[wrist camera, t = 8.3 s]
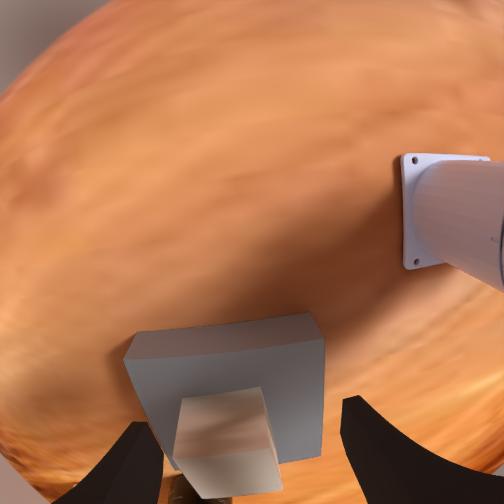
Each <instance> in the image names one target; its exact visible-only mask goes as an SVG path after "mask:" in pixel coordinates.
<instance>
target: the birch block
mask: <svg viewBox="0 0 504 504" xmlns="http://www.w3.org/2000/svg"><path fill="white" fill-rule="evenodd" d="M172 459H173V460H174V462H175V463H176V464H177V466H178V467H179V469H180V470H181V471H182V473H183V474H184V476H185V477H186V478H187V480H188V481H189V482H190V484H191V485H192V486H193V488H194V489H195V490H196V491H197V493H198V494H199V495H200V496H201V498H202V499H209V498H224V497H236V496H245V495H253V494H260V493H267V492H273V491H279V490H283V487H282V481H281V475H280V470H279V464H278V458H277V452H276V447H275V441H274V435H273V431H272V427H271V424H270V420H269V416H268V413H267V409H266V405H265V401H264V397H263V394H262V390H261V386H259V387H254V388H249V389H243V390H237V391H231V392H225V393H219V394H212V395H205V396H197V397H189V398H182V403H181V409H180V414H179V420H178V426H177V432H176V438H175V444H174V450H173V456H172Z"/></svg>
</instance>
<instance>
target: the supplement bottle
mask: <svg viewBox="0 0 504 504" xmlns="http://www.w3.org/2000/svg"><path fill="white" fill-rule="evenodd" d="M168 504H232V497H224V498H209V499H202V498H201V496H200V495H199V494H198V493H197V491H196V490H195V489H194V488H193V486H192V485H191V484H190V482H189V481H188V480H187V478H186V477H185V476H184V475H181V476H178V477H176V478H175V479H174V480H173V481H172V482H171V485H170V491H169V497H168Z"/></svg>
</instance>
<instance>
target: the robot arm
mask: <svg viewBox="0 0 504 504" xmlns="http://www.w3.org/2000/svg"><path fill="white" fill-rule="evenodd" d="M412 158H414V159H415V163H414V164H413V163H412ZM400 162H401V175H402V191H403V227H404V238H403V266H404V267H405V268H406V269H408V270H412V269H417V268H422V267H427V266H432V265H437V264H442V263H448V264H450V265H452V266H454V267H456V268H458V269H460V270H462V271H463V272H465V273H467V274H469V275H471V276H473V277H475V278H477V279H479V280H481V281H483V282H484V283H486V284H488V285H490V286H492V287H494V288H496V289H497V290H499V291H501V292H503V293H504V162H500V161H490V159H489V158H488V157H484V156H471V155H454V154H428V153H405V154H403V155H402V156H401V159H400ZM415 259H417V261H416V263H415V264H414V260H415ZM340 435H341V438H342V442H343V445H344V448H345V452H346V455H347V457H348V460H349V462H350V464H351V466H352V469H353V471H354V473H355V475H356V477H357V480H358V482H359V484H360V486H361V489H362V491H363V493H364V495H365V497H366V500H367V503H368V504H504V477H503V476H496V475H491V474H486V473H482V472H479V471H475V470H472V469H469V468H466V467H463V466H461V465H458V464H455V463H453V462H450V461H448V460H446V459H444V458H442V457H440V456H438V455H436V454H434V453H432V452H430V451H429V450H427V449H425V448H424V447H422V446H420V445H419V444H417V443H416V442H414V441H413V440H411V439H410V438H409V437H407V436H406V435H404V434H403V433H402V432H400V431H399V430H398V429H397V428H395V427H394V426H393V425H392V424H390V423H389V422H388V421H387V420H386V419H384V418H383V417H382V416H381V415H380V414H379V413H378V412H377V411H375V410H374V409H373V408H372V407H371V406H370V405H369V404H368V403H367V402H366V401H365V400H364V399H363V398H362V397H361V396H359V395H357V396H353V397H350V398H346V399H343V404H342V417H341V428H340ZM163 460H164V453H163V451H162V449H161V447H160V446H159V444H158V442H157V440H156V438H155V437H154V435H153V433H152V431H151V429H150V427H149V425H148V423H147V422H132V423H131V424H130V425H129V426H128V428H127V429H126V430H125V431H124V433H123V434H122V435H121V436H120V438H119V439H118V440H117V441H116V443H115V444H114V445H113V446H112V448H111V449H110V450H109V451H108V452H107V454H106V455H105V456H104V457H103V458H102V460H101V461H100V462H99V463H98V464H97V465H96V466H95V467H94V468H93V469H92V470H91V471H90V472H89V474H88V475H87V476H86V477H85V478H83V479H82V480H81V481H80V482H79V483H78V484H77V485H76V486H75V487H73V488H72V489H71V490H70V491H68V492H67V493H66V494H64V495H63V496H62V497H60V498H59V499H57V500H56V501H54V502H53V503H51V504H157V502H158V497H159V492H160V487H161V481H162V476H163Z"/></svg>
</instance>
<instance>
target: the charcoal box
mask: <svg viewBox="0 0 504 504" xmlns="http://www.w3.org/2000/svg"><path fill="white" fill-rule="evenodd" d="M123 362H124V365H125V367H126V370H127V372H128V375H129V377H130V380H131V382H132V385H133V387H134V389H135V392H136V394H137V396H138V399H139V401H140V403H141V405H142V408H143V410H144V412H145V414H146V416H147V418H148V421H149V423H150V425H151V427H152V429H153V431H154V433H155V435H156V437H157V439H158V441H159V443H160V444H161V446H162V448H163V450H164V452H165V454H166V456H167V458H168V459H169V461H170V463H171V465H172V466H173V468H174V470H180V469H179V467H178V466H177V464H176V463H175V462H174V460H173V459H172V456H173V450H174V444H175V438H176V432H177V426H178V420H179V414H180V409H181V403H182V398H189V397H197V396H205V395H212V394H219V393H225V392H231V391H237V390H243V389H249V388H254V387H259V386H261V390H262V394H263V397H264V401H265V405H266V409H267V413H268V416H269V420H270V424H271V427H272V431H273V435H274V441H275V447H276V452H277V458H278V464H280V463H287V462H293V461H298V460H304V459H309V458H314V457H319V456H321V446H322V429H323V408H324V369H325V338H324V336H323V334H322V332H321V330H320V329H319V327H318V325H317V323H316V321H315V320H314V318H313V316H312V314H311V312H306V313H300V314H294V315H287V316H281V317H274V318H267V319H260V320H252V321H245V322H237V323H228V324H220V325H211V326H201V327H191V328H181V329H169V330H157V331H143V332H137V334H136V335H135V337H134V339H133V341H132V343H131V345H130V347H129V348H128V350H127V352H126V354H125V356H124V358H123Z"/></svg>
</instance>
